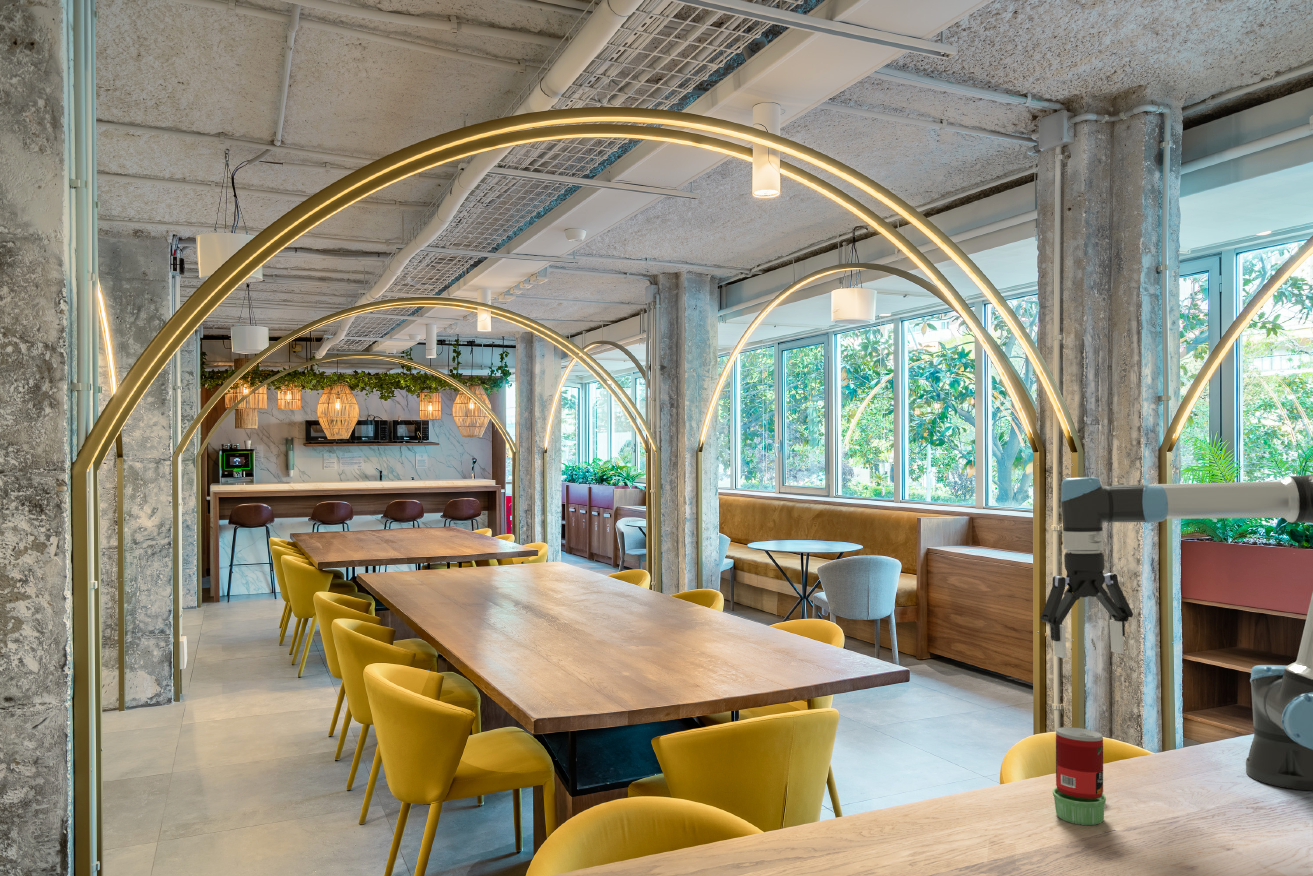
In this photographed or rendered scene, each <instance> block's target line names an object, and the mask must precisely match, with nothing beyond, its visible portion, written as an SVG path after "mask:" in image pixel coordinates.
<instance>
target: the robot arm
mask: <svg viewBox="0 0 1313 876" xmlns="http://www.w3.org/2000/svg"><path fill="white" fill-rule="evenodd" d="M1060 490H1061V497H1060V503H1061V505H1060V506H1061V517H1062V538H1063V539H1062V540H1063V542H1062V543H1063V544H1062V545H1063V550H1065V551H1066V552H1065V553H1064V554H1063V558H1064V562H1063V563H1064V569H1065V571H1066V576H1059V575H1053V577H1052V582H1051V583H1052V585H1051V589H1050V592H1049V595H1048V597H1047V600H1046V603H1045V605H1044V608H1043V611H1042V614H1041V615H1040V621H1042V622H1045V623H1046V624H1049V626H1050V627H1049V628H1050V629H1049V631H1050V639H1051V641H1053V654H1054V657H1057V658H1059V659H1067V644H1066V642H1067V640H1066V625H1062V623H1063V622H1064V620H1065V619H1066V617H1067V616H1068V614H1069V613H1070V611H1071V609H1072V607H1074V605H1075V603H1076V602H1077V601H1078V600H1080V598H1088V597H1093V598H1096V599H1097V600H1098V602H1099V603H1100V604H1101V606H1102V607H1103V608H1104V609H1105V610H1106V611H1107V613H1108V614H1109V615H1110V617H1111V618H1112V619H1109V635H1110V652H1113V653H1118V654H1124V637H1125V635H1126V629H1125V628H1126V626H1125V622H1127V623H1128V622H1129V618H1133V616H1134V613H1133V610H1132V609H1131V608H1132V607H1130V605H1129V602H1128V600H1127V599H1126V596H1125V594H1124V593H1123V590H1122V588H1121V587H1120V583H1119V578H1118V574H1116V573H1111V572H1105V573H1104V571H1105V569H1106V565H1105V554H1104V553H1103V552H1101V551H1103V550H1104V532H1103V531H1104V530H1103V525H1104V523H1106V524H1107V523H1108V524H1109V523H1147V524H1150V523H1158V522H1159V523H1161V522H1163V521H1165V520H1168V519H1170V520H1171V519H1172V520H1176V519H1177V520H1178V519H1181V520H1186V519H1266V518H1267V519H1275V518H1276V519H1277V518H1278V519H1279V518H1280V519H1281V518H1282V519H1284V520H1286V521H1287V522H1288V523H1304V524H1305V523H1307V524H1313V474H1307V475H1296V476H1295V475H1292V476H1285V477H1284V478H1282V479H1281V480H1280V481H1279V480H1278V481H1246V482H1243V481H1240V482H1239V481H1238V482H1203V483H1202V482H1201V483H1199V482H1197V483H1195V482H1194V483H1156V484H1154V483H1153V484H1114V485H1111V486H1105V485H1102V483H1101V480H1100V478H1099V477H1093V476H1092V477H1067V478H1064V479H1063V480H1062V481H1061V489H1060ZM1104 584H1105V587H1106V589H1107V590H1108V591H1107V590H1106V589H1105V588H1104V587H1103V586H1104ZM1066 587H1067V588H1066ZM1249 682H1250V686H1251V702H1252V703H1251V704H1252V719H1253V720H1252V721H1253V724H1252V725H1253V739H1252V742H1251V745H1250V748H1249V751H1248V752H1249V753H1248V757H1246V759H1245V773H1246V774H1247V776H1249V777H1250V778H1252V779H1253V780H1256V781H1258V780H1259V782H1261V781H1262V782H1261V783H1265V784H1267V783H1268V785H1271V786H1275V787H1281V788H1285V787H1286V788H1285V789H1291V788H1292V790H1300V791H1313V592H1312V594H1311V598H1310V602H1309V606H1308V610H1307V614H1306V620H1305V624H1304V628H1303V632H1302V636H1301V640H1300V644H1299V650H1298V653H1297V657H1296V661H1295V662H1292V663H1290V664H1288V665H1282V664H1281V665H1280V664H1278V665H1277V664H1275V665H1274V664H1258V665H1254V666H1252V668H1251V670H1250V679H1249Z"/></svg>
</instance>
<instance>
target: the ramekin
mask: <svg viewBox="0 0 1313 876" xmlns="http://www.w3.org/2000/svg"><path fill="white" fill-rule="evenodd" d="M1052 794H1053V795H1052V796H1053V798H1054V806H1055V813H1056V815H1057V816H1058V818H1060V820H1063V821H1065V822H1068V823H1071V824H1074V823H1075V824H1074V825H1080V824H1081V825H1082V826H1094V825H1095V826H1096V825H1099V824H1101V823H1103V822H1104V820H1105V805H1106V801H1107V797H1106V795H1105V794H1104V793H1103V794H1102V796H1101V797H1100V798H1096V799H1085V798H1078V797H1073V796H1069V795H1066V794H1063V793H1061V792H1060V791H1059V790H1058V789H1057V786H1055V788H1053V789H1052Z"/></svg>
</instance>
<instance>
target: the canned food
mask: <svg viewBox="0 0 1313 876" xmlns="http://www.w3.org/2000/svg"><path fill="white" fill-rule="evenodd" d="M1103 736H1104V735H1103V734H1102V733H1100V732H1097V731H1095V730H1091V729H1086V728H1081V727H1069V726H1068V727H1065V726H1063V727H1059V728H1055V787H1057V789H1058V790H1059V791H1060V792H1061V793H1063V794H1066V795H1069V796H1073V797H1078V798H1085V799H1096V798H1100V797H1101V796H1102V794H1104V738H1103Z"/></svg>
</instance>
